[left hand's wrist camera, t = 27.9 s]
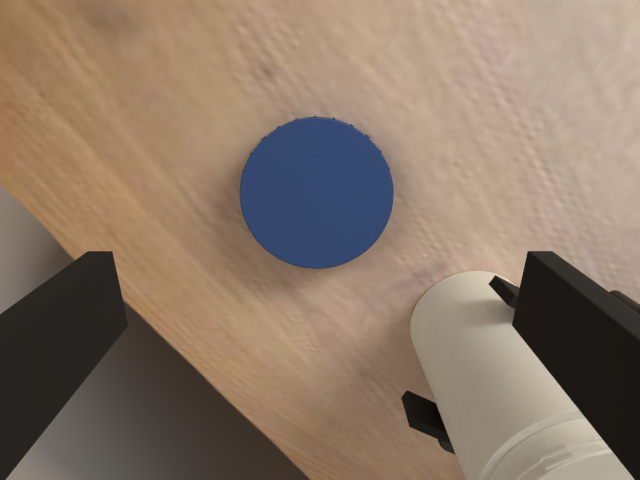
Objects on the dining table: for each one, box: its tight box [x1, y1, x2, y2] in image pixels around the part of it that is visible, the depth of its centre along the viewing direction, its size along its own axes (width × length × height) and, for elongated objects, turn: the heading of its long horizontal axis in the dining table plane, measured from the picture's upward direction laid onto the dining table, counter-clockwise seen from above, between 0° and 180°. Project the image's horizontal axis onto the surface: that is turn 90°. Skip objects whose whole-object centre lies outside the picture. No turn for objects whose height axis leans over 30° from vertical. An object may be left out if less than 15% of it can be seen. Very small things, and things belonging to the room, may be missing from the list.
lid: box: [240, 116, 393, 269], centre depth 28 cm, size 11×11×2 cm
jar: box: [410, 271, 634, 480], centre depth 25 cm, size 10×10×16 cm
